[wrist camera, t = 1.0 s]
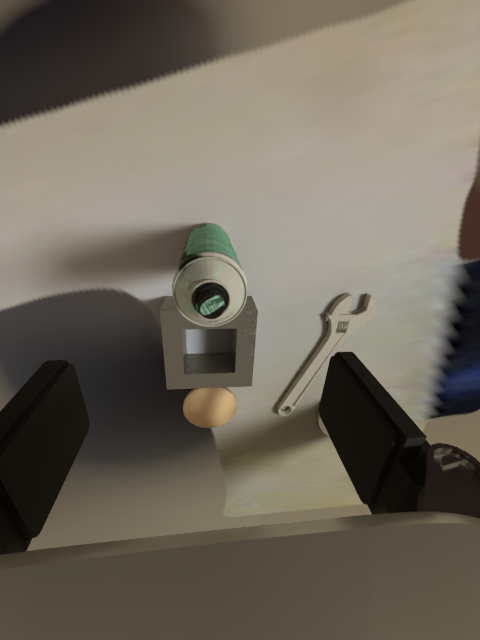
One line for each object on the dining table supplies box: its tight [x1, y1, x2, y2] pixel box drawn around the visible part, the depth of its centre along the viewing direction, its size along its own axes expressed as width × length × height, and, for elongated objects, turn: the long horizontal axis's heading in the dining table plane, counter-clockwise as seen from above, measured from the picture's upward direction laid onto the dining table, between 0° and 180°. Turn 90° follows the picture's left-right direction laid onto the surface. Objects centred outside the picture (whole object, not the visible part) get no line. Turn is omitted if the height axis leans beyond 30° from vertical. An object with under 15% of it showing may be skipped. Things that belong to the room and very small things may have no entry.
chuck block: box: [160, 296, 258, 389], centre depth 38 cm, size 12×12×5 cm
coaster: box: [183, 387, 237, 428], centre depth 46 cm, size 9×9×1 cm
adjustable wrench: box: [277, 293, 376, 416], centre depth 44 cm, size 25×6×2 cm, turn 150°
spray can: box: [172, 223, 247, 327], centre depth 26 cm, size 6×6×20 cm
